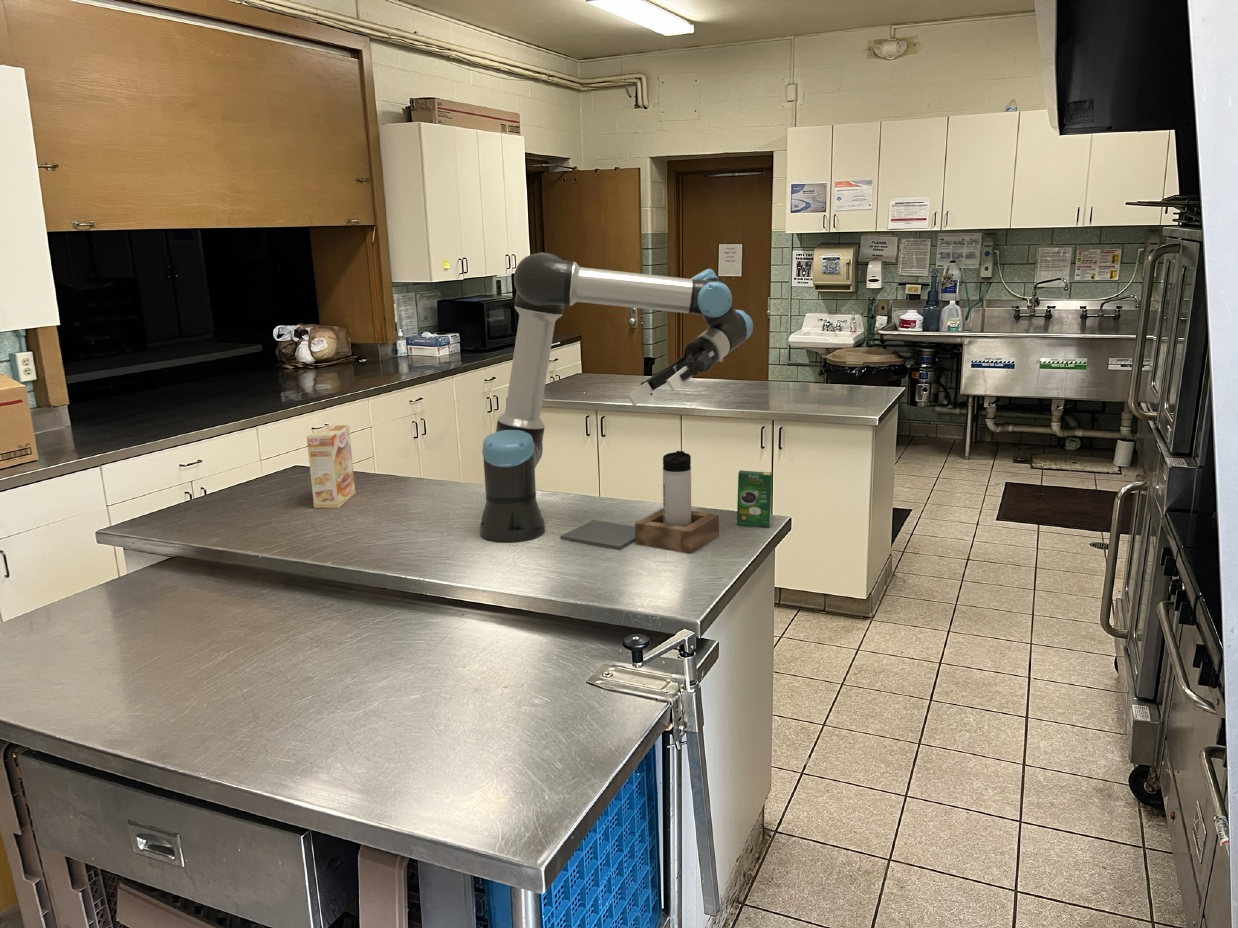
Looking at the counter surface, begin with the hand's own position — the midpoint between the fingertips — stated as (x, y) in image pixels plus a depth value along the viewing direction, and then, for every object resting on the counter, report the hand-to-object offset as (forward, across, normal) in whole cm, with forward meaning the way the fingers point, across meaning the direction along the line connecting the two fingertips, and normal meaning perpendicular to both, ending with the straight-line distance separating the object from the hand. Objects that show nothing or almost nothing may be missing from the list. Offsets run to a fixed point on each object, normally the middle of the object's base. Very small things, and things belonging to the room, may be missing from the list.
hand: (650, 393), depth 191 cm
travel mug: (+8, +8, -32) cm, 34 cm away
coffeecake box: (+37, +92, +12) cm, 100 cm away
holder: (+8, +8, -32) cm, 34 cm away
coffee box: (-11, +4, -42) cm, 43 cm away
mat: (+15, +21, -24) cm, 36 cm away
